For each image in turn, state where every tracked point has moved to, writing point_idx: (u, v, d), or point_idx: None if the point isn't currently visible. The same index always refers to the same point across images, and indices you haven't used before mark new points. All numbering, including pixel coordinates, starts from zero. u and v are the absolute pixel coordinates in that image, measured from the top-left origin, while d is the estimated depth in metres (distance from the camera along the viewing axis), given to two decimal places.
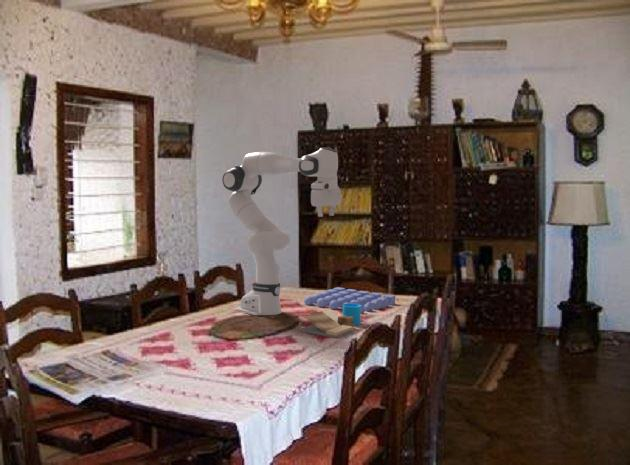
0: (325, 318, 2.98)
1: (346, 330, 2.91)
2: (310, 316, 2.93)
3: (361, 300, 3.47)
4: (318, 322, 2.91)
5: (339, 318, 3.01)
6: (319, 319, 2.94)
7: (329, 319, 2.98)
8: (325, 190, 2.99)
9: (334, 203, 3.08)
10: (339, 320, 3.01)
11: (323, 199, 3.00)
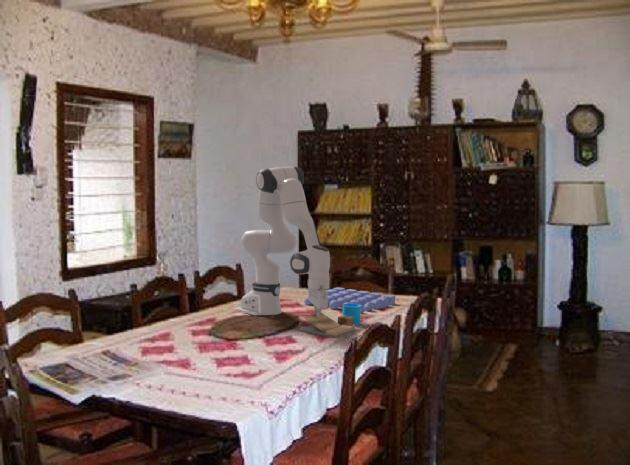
0: (324, 318, 2.98)
1: (346, 330, 2.91)
2: (309, 317, 2.93)
3: (361, 300, 3.47)
4: (318, 323, 2.91)
5: (339, 318, 3.01)
6: (319, 320, 2.94)
7: (329, 319, 2.98)
8: None
9: (315, 304, 2.92)
10: (339, 320, 3.01)
11: (311, 295, 3.00)
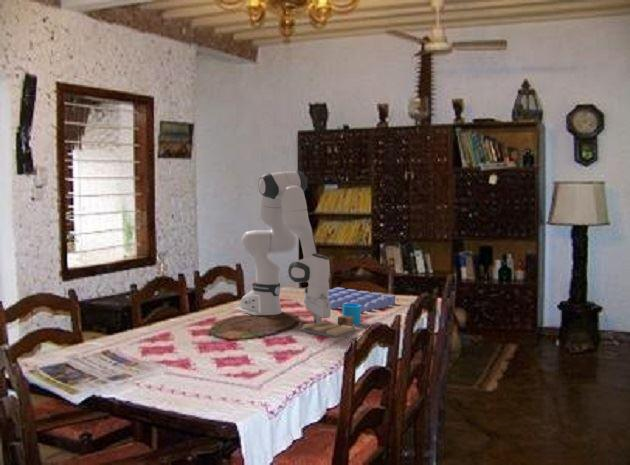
0: (322, 323, 2.98)
1: (346, 330, 2.91)
2: (307, 324, 2.94)
3: (361, 300, 3.47)
4: (316, 326, 2.92)
5: (339, 318, 3.01)
6: (316, 324, 2.95)
7: (327, 323, 2.99)
8: (307, 295, 3.00)
9: (316, 313, 2.92)
10: (339, 320, 3.01)
11: (309, 303, 3.00)
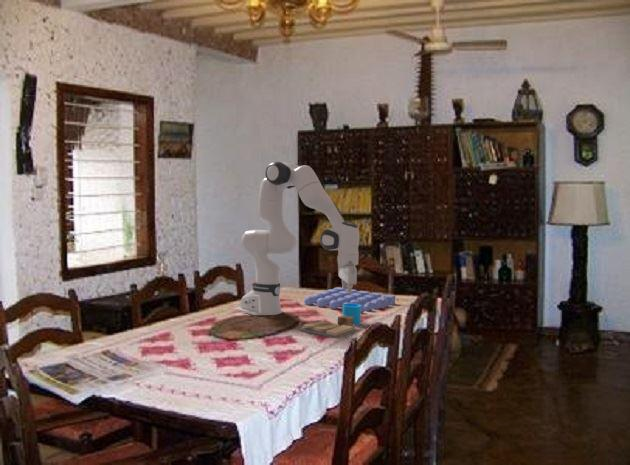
0: (322, 323, 2.98)
1: (346, 330, 2.91)
2: (307, 324, 2.94)
3: (361, 300, 3.47)
4: (316, 326, 2.92)
5: (339, 318, 3.01)
6: (316, 324, 2.95)
7: (327, 323, 2.99)
8: None
9: (345, 280, 2.96)
10: (339, 320, 3.01)
11: (340, 271, 3.05)
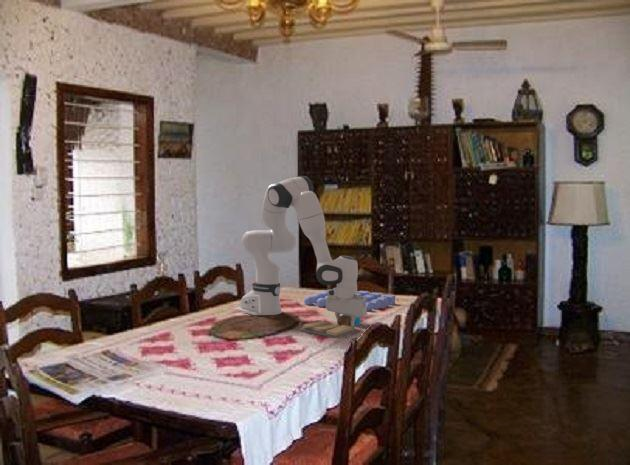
0: (322, 323, 2.98)
1: (346, 330, 2.91)
2: (307, 324, 2.94)
3: None
4: (316, 326, 2.92)
5: (339, 318, 3.01)
6: (316, 324, 2.95)
7: (327, 323, 2.99)
8: (332, 296, 3.03)
9: (349, 313, 2.98)
10: (339, 320, 3.01)
11: (333, 305, 3.04)
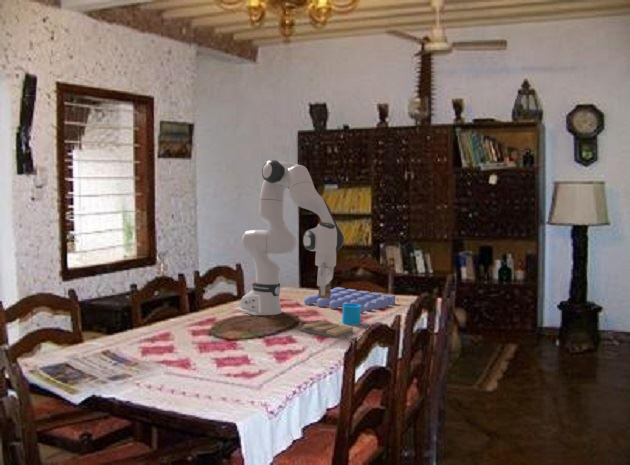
0: (322, 323, 2.98)
1: (346, 330, 2.91)
2: (307, 324, 2.94)
3: (361, 300, 3.47)
4: (316, 326, 2.92)
5: None
6: (316, 324, 2.95)
7: (327, 323, 2.99)
8: None
9: None
10: None
11: None
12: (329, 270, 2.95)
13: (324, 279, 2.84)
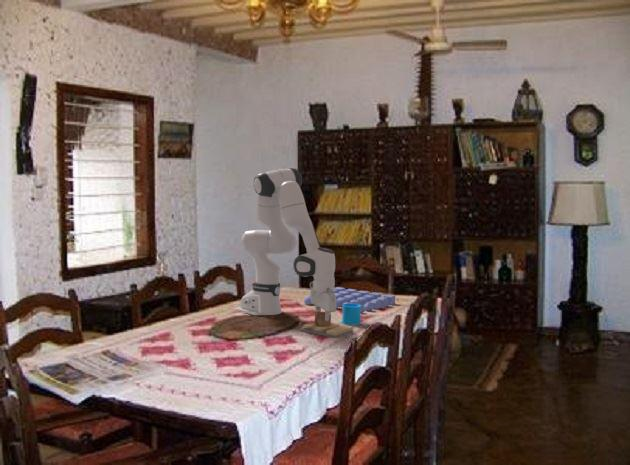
0: None
1: (346, 330, 2.91)
2: (307, 324, 2.94)
3: (361, 300, 3.48)
4: (316, 326, 2.92)
5: (316, 314, 2.95)
6: (316, 325, 2.95)
7: None
8: (312, 289, 2.98)
9: (322, 307, 2.91)
10: (315, 316, 2.95)
11: (314, 297, 2.99)
12: None
13: (335, 304, 2.86)
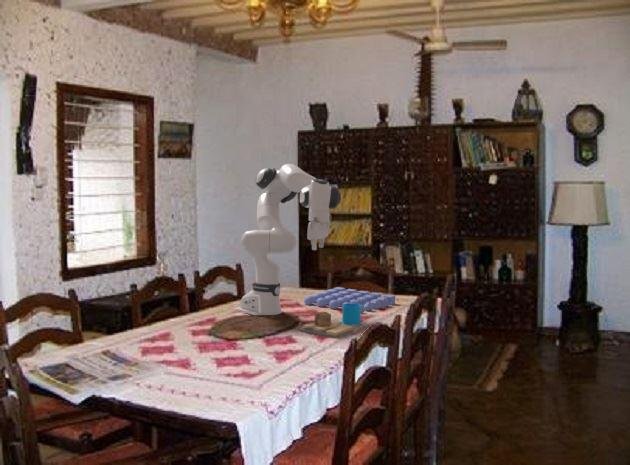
0: None
1: (346, 330, 2.91)
2: (307, 324, 2.94)
3: (361, 300, 3.48)
4: (316, 326, 2.92)
5: (316, 314, 2.95)
6: (316, 325, 2.95)
7: None
8: None
9: None
10: (315, 316, 2.95)
11: None
12: (323, 226, 3.00)
13: (314, 232, 2.90)
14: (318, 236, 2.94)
